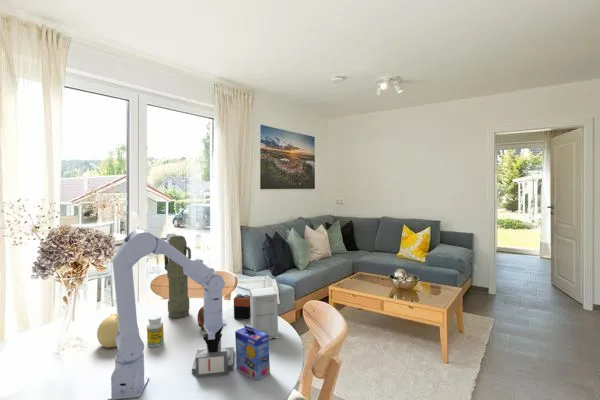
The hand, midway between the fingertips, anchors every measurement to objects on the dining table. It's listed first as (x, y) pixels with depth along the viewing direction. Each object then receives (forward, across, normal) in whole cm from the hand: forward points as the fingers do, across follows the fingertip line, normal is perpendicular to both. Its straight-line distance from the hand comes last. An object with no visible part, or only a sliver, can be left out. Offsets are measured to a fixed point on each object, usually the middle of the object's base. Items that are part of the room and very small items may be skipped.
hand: (214, 351), depth 107 cm
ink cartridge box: (+3, -8, -12) cm, 15 cm away
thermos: (+3, +44, +19) cm, 48 cm away
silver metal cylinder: (+1, 0, 0) cm, 1 cm away
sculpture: (+3, +20, +36) cm, 41 cm away
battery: (+3, +36, -9) cm, 37 cm away
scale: (+3, -1, 0) cm, 3 cm away
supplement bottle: (+3, +17, +22) cm, 28 cm away
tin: (+3, +32, +5) cm, 33 cm away
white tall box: (+3, +17, -17) cm, 24 cm away
